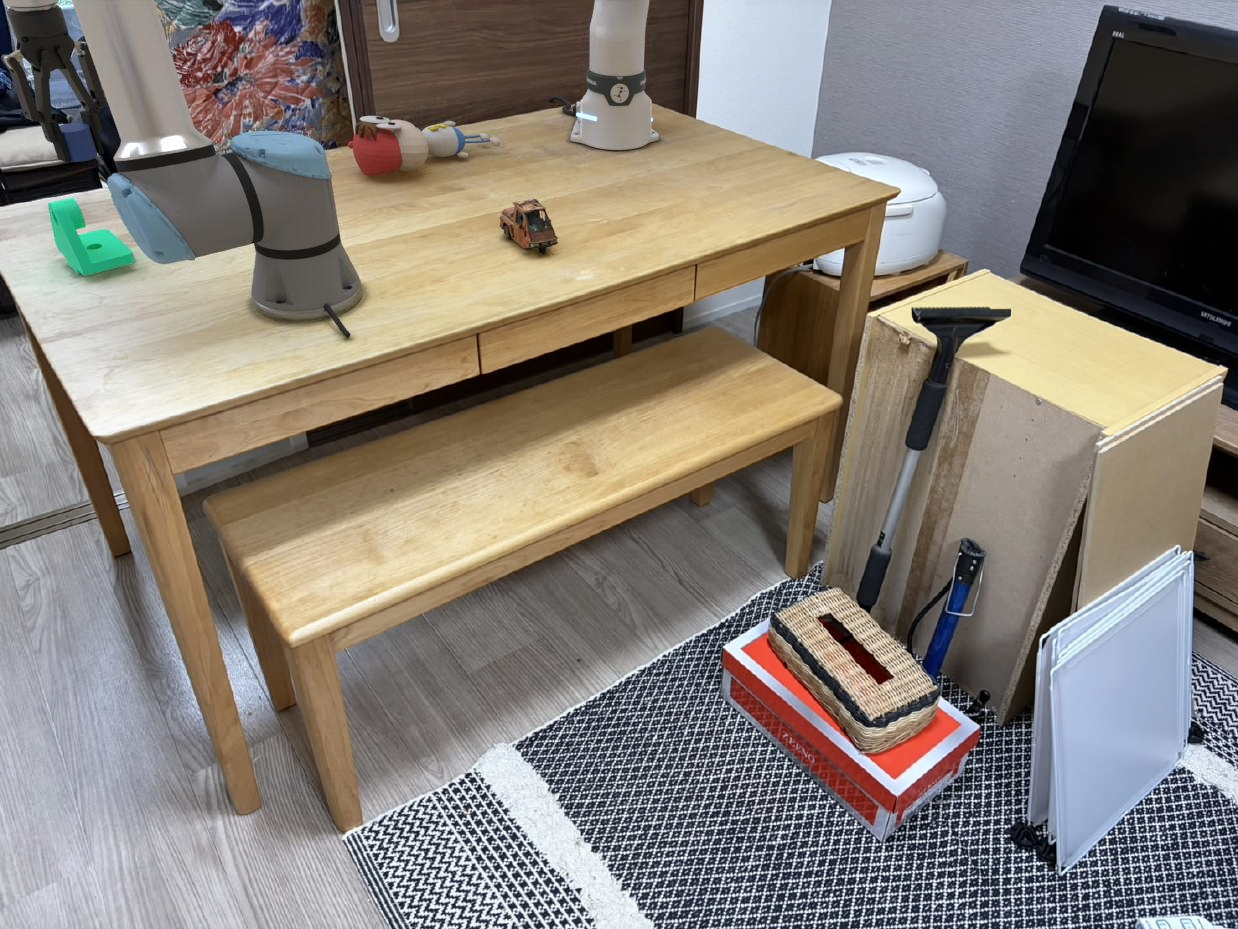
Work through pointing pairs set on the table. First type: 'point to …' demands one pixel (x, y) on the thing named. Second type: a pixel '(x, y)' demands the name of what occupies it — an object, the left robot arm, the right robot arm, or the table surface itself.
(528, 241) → the toy car
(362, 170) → the toy
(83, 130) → the canister
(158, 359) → the table surface
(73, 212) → the camera mount
